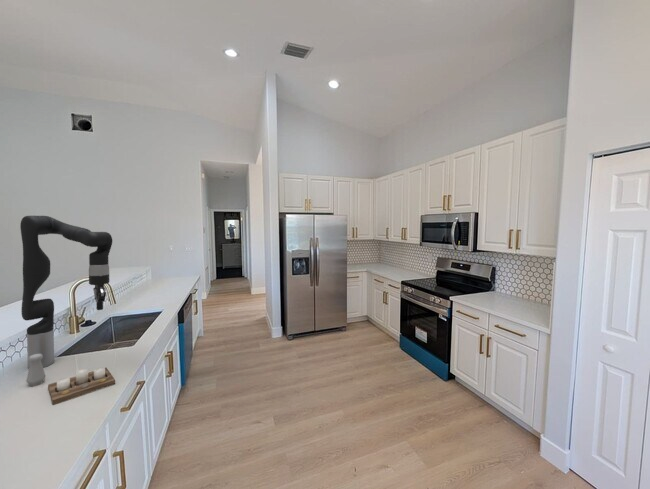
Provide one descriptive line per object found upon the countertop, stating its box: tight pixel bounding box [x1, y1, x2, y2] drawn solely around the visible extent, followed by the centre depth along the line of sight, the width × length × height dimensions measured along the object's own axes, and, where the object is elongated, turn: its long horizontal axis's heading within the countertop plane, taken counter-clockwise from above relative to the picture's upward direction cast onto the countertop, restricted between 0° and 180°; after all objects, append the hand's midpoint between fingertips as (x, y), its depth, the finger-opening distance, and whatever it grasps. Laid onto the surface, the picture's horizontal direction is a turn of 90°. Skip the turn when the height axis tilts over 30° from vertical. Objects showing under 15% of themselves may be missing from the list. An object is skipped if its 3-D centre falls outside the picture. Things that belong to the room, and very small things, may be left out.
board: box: [47, 367, 116, 406], centre depth 120 cm, size 16×20×2 cm
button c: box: [93, 367, 106, 381], centre depth 124 cm, size 4×4×5 cm
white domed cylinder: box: [56, 377, 71, 393], centre depth 115 cm, size 4×4×5 cm
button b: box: [75, 368, 89, 385], centre depth 120 cm, size 4×4×5 cm
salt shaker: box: [26, 354, 46, 387], centre depth 121 cm, size 6×6×13 cm
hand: (99, 309), depth 130 cm, fingers closed
